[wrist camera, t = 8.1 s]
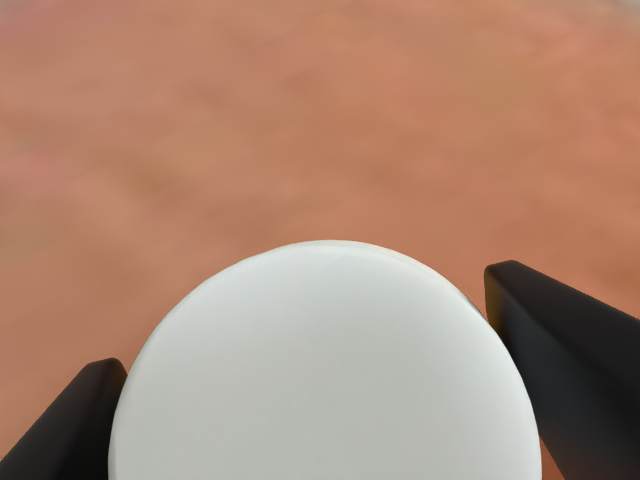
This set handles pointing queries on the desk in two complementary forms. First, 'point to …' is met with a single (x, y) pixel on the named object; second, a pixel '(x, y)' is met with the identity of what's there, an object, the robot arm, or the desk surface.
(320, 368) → the supplement bottle
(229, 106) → the desk surface
